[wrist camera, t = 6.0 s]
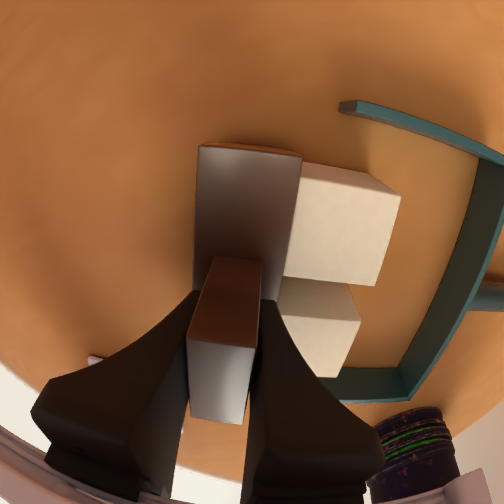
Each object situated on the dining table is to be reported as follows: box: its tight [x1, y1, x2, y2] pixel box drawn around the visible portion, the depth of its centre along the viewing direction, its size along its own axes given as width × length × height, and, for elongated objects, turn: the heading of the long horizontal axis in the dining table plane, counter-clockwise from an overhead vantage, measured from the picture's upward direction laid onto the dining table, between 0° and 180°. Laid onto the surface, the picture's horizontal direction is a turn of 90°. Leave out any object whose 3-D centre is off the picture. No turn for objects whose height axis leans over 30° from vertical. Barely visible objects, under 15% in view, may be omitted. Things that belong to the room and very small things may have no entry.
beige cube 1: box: [277, 276, 361, 377], centre depth 15 cm, size 4×4×4 cm
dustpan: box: [318, 100, 504, 404], centre depth 14 cm, size 17×16×3 cm
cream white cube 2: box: [283, 162, 401, 286], centre depth 12 cm, size 4×4×4 cm
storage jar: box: [366, 407, 460, 504], centre depth 18 cm, size 10×10×15 cm
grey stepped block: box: [186, 142, 303, 425], centre depth 11 cm, size 12×4×8 cm, turn 174°
